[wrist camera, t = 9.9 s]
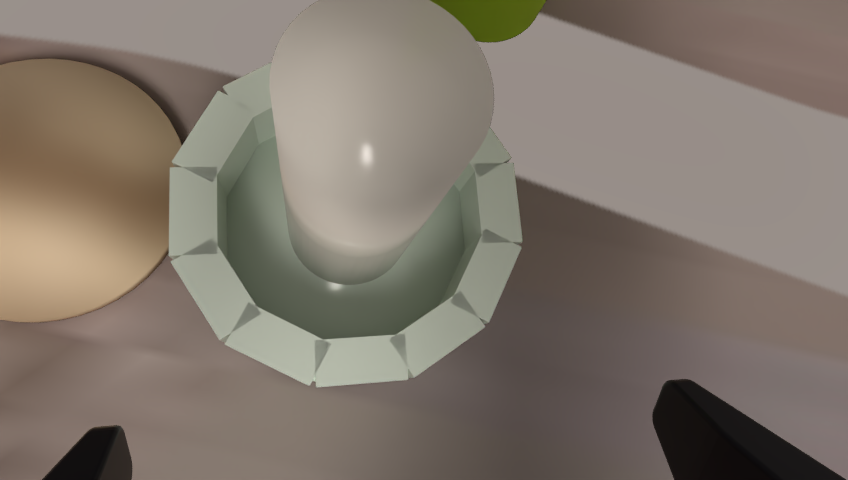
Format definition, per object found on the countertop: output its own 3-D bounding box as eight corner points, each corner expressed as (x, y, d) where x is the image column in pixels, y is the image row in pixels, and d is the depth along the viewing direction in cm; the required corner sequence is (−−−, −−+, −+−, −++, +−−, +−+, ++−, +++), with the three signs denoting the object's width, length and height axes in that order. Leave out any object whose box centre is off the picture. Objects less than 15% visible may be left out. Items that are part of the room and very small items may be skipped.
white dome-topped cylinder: (388, 300, 23) (460, 225, 12) (270, 262, 23) (234, 148, 12) (422, 191, 24) (517, 32, 13) (311, 153, 24) (314, -45, 13)
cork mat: (189, 313, 23) (186, 312, 22) (-121, 331, 21) (-133, 330, 20) (190, 68, 25) (187, 61, 24) (-90, 64, 23) (-100, 55, 22)
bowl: (506, 371, 24) (537, 369, 21) (188, 396, 22) (166, 399, 19) (477, 93, 27) (500, 52, 23) (190, 91, 25) (171, 44, 21)
